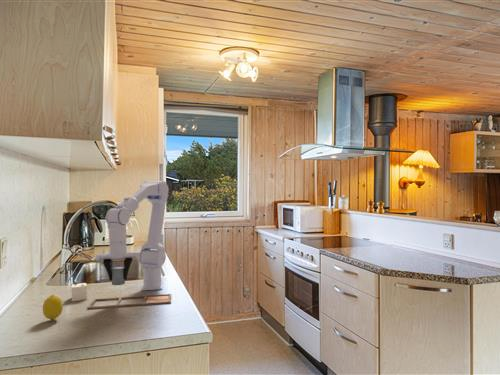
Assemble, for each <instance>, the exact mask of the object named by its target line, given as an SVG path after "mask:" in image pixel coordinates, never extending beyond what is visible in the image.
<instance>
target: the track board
mask: <svg viewBox="0 0 500 375" xmlns="http://www.w3.org/2000/svg"><path fill="white" fill-rule="evenodd" d="M133 299H135V300H136V299H143V300H142V302H139V303H126V304H125V303H124V304H121V302H122V300H133ZM101 301H102V302H103V301H117V302H116V303H115V304H110V305H109V304H108V305H96V306H94V304H95V303H96V302H101ZM171 303H172V293H165V294H164V293H163V294H153V295H152V294H150V295H148V294H147V295H134V296H133V295H132V296H119V297H118V296H116V297H101V298H94V299H92V301H91V302H90V303H89V305H88V306H87V310H95V309H99V310H100V309H110V308H111V309H112V308H113V309H114V308H125V307H140V306H151V305H152V306H153V305H154V306H155V305H156V306H157V305H169V304H171Z"/></svg>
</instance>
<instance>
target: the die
mask: <svg viewBox="0 0 500 375" xmlns="http://www.w3.org/2000/svg"><path fill="white" fill-rule="evenodd" d="M87 286H88V285H87V282H81V283H80V282H79V283H73V284H71V302H76V301H77V302H78V301H85V300H87V299H88V295H87V294H88V293H87V292H88V288H87Z"/></svg>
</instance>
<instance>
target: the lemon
mask: <svg viewBox="0 0 500 375" xmlns="http://www.w3.org/2000/svg"><path fill="white" fill-rule="evenodd" d="M63 307H64V306H63V301H62V299H61V297H59V296H58V295H54V294H51V295H50V296H48V297H47V298H46V299H45V300H44V302H43V305H42V313H43V316H44V318H46V319H47V320H48V319H49V320H51V321H55V320H56V318H58V317H60V315H61V314H62V312H63V309H64V308H63Z"/></svg>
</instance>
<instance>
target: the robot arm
mask: <svg viewBox="0 0 500 375" xmlns="http://www.w3.org/2000/svg"><path fill="white" fill-rule="evenodd" d="M169 191H170V190H169V186H168V184H167V182H166V181H165V180H154V181H151V180H150V181H147V180H145V181H143V182H142V183H140V186H139V188H138V190H137V191H136V192H135V193H134V194H133V195H132V196H125V197H124V198H123V200H122V201H121V202H120V203H118V204H117V205H116V206H115V208H110V209H109V210H107V212H106V214H105V216H104V218H105V220H104V221H105V222H106V224H107V229H108V235H109V236H108V238H109V240H108V242H109V253H100V254H96V255H95V260H96V262H97V261H98V262H99V261H103V262H102V265H103V266H104V268H105V270H106V272H107V275H108V280H109V281H110V282H112V268H113V260H123V267H124V280H125V281H126V280H128V273H129V270H130V267H131V264H132V262H133V260H134V259H135V260H138V262H139V264H140V265H141V267H143V268H142V270H143V272H142V275H143V277H142V279H143V284H142V288H141V291H154V290H159V291H160V290H163V285H164V282H162V267H163V265H164V264H165V262H166V247H165V246H164V245H163V244H162V243H161V240H162V234H163V231H162V230H163V226H164V225H163V224H164V218H165V210H166V203H167V201H168V197H169ZM145 199H146V200H147V201H148V202H150V204H151V205H152V206H151V212H150V214H151V215H150V221H149V228H148V235H147V241H146V242H145V243H144V244H143V245H141V248H140V251H139V252H127V224H128V223H129V221H130V218H131V216H132V214H134V212H136V211H137V209H139V204H140V203H141V202H143V200H145Z"/></svg>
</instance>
